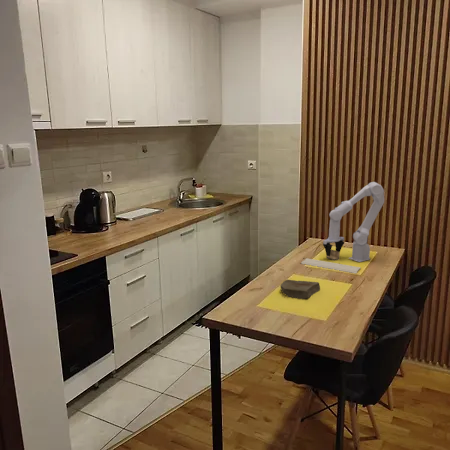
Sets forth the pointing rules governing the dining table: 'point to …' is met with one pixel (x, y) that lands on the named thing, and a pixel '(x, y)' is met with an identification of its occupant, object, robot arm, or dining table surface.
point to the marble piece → (299, 288)
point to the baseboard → (331, 265)
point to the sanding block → (334, 255)
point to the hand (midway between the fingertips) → (332, 254)
